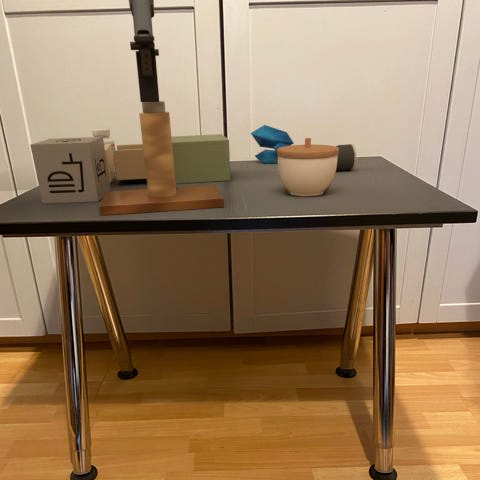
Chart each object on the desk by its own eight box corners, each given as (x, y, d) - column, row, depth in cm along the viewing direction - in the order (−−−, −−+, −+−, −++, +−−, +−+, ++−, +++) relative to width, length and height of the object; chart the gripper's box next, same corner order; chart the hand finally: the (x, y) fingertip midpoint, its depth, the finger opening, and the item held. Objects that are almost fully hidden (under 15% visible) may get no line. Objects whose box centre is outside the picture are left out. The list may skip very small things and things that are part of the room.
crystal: (298, 134, 114) (250, 123, 115) (290, 171, 118) (242, 160, 119) (300, 131, 121) (254, 121, 121) (291, 166, 125) (247, 156, 125)
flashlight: (288, 176, 103) (289, 149, 101) (281, 172, 108) (281, 147, 106) (355, 171, 106) (357, 145, 104) (345, 167, 111) (347, 142, 108)
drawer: (82, 184, 97) (77, 151, 95) (89, 175, 107) (84, 145, 105) (171, 179, 100) (168, 147, 97) (170, 170, 110) (167, 141, 107)
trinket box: (278, 200, 83) (279, 142, 79) (275, 188, 92) (275, 136, 88) (341, 198, 83) (344, 140, 78) (331, 186, 92) (333, 134, 88)
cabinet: (160, 184, 99) (156, 143, 96) (160, 174, 110) (156, 137, 107) (230, 180, 101) (229, 139, 97) (223, 171, 112) (221, 134, 109)
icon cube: (98, 201, 86) (88, 142, 82) (42, 203, 86) (30, 144, 82) (110, 190, 95) (102, 136, 91) (60, 192, 95) (50, 138, 91)
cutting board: (100, 215, 77) (98, 206, 76) (107, 199, 88) (106, 191, 87) (224, 207, 79) (223, 198, 79) (216, 192, 90) (215, 184, 89)
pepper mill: (148, 198, 80) (137, 102, 74) (148, 192, 85) (138, 101, 78) (177, 196, 81) (168, 101, 74) (176, 191, 85) (168, 100, 79)
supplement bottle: (96, 171, 118) (89, 128, 113) (118, 170, 118) (113, 127, 114) (94, 175, 113) (87, 130, 108) (117, 173, 114) (111, 129, 109)
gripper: (163, -96, 56) (177, 102, 66) (161, -46, 78) (172, 98, 88) (97, -98, 55) (121, 104, 65) (115, -46, 77) (130, 99, 87)
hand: (150, 100), depth 76 cm, fingers open, 13 cm apart
